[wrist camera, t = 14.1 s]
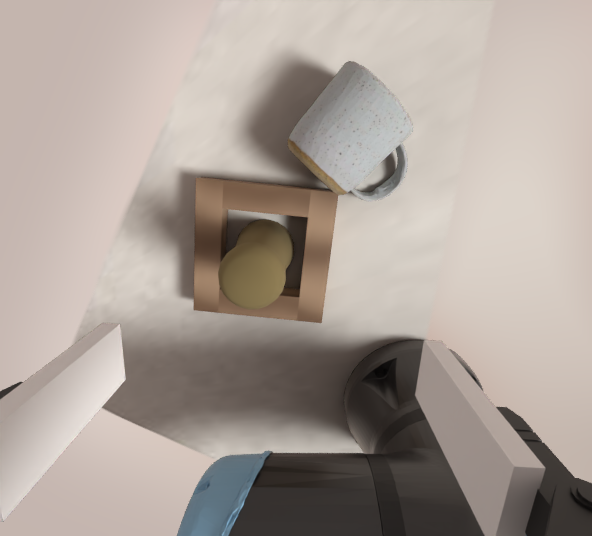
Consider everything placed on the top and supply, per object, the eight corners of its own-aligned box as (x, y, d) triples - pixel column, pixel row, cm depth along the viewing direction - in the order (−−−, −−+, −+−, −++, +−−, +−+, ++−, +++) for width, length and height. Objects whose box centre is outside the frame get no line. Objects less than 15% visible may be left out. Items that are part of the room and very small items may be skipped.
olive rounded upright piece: (299, 271, 36) (297, 314, 26) (243, 280, 37) (218, 327, 26) (288, 214, 35) (281, 235, 24) (230, 225, 35) (197, 250, 25)
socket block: (320, 312, 38) (321, 323, 35) (200, 300, 37) (193, 310, 35) (336, 190, 34) (338, 192, 31) (203, 177, 34) (195, 178, 31)
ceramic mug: (282, 145, 33) (277, 141, 26) (342, 72, 31) (355, 44, 24) (362, 219, 35) (379, 234, 27) (423, 154, 33) (458, 152, 26)
